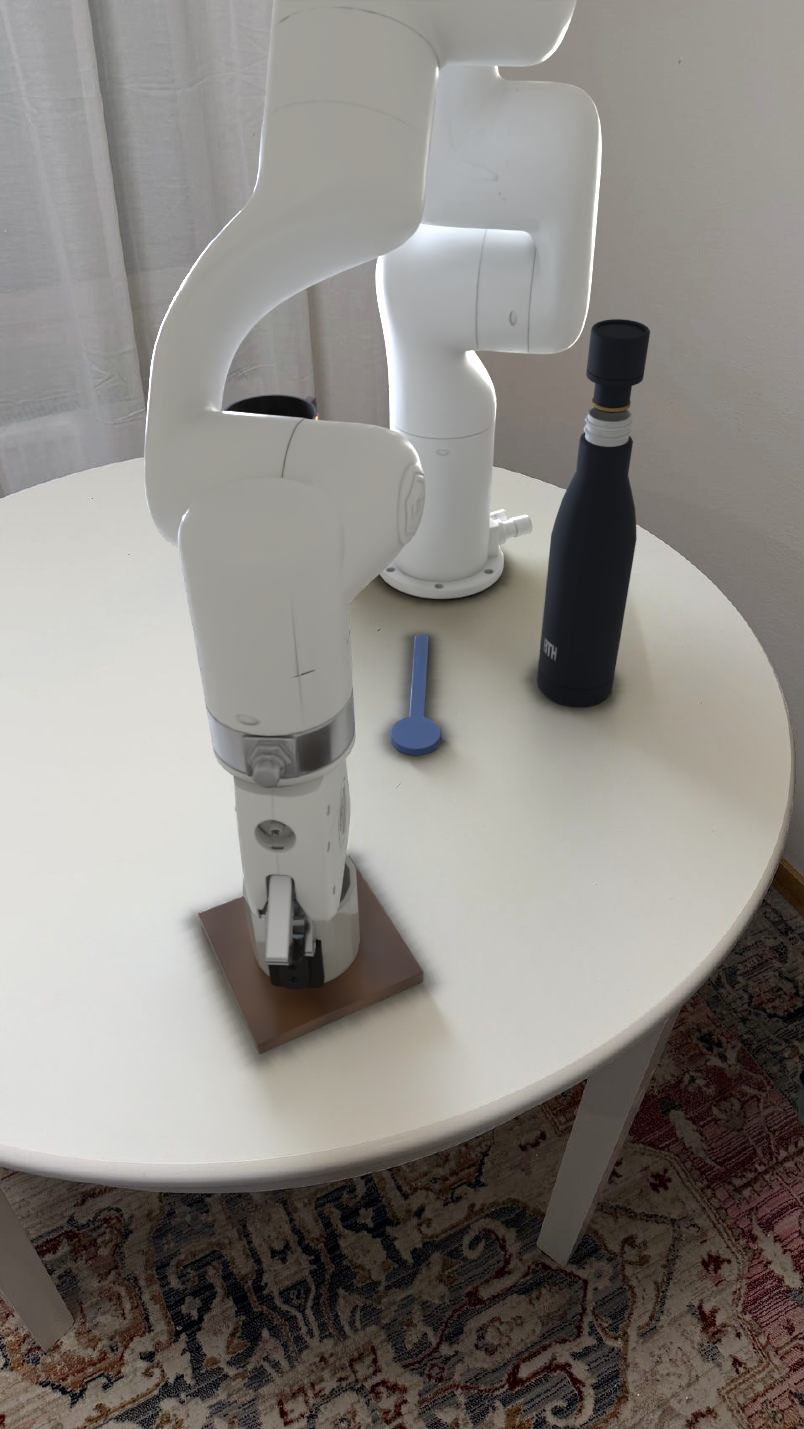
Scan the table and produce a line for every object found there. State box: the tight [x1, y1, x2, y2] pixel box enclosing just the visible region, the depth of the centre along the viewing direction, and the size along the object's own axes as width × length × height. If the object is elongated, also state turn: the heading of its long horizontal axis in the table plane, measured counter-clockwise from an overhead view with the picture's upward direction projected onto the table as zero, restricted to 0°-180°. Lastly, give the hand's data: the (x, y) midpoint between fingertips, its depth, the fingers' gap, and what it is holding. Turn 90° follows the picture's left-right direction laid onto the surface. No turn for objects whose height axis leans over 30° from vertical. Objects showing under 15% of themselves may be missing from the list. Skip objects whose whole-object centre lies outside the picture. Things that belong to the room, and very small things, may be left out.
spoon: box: [390, 634, 442, 756], centre depth 85 cm, size 16×4×1 cm, turn 177°
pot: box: [242, 853, 360, 983], centre depth 62 cm, size 7×7×6 cm
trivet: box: [197, 854, 424, 1055], centre depth 65 cm, size 11×11×1 cm
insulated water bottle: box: [536, 318, 651, 708], centre depth 76 cm, size 6×6×30 cm
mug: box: [222, 393, 319, 420], centre depth 105 cm, size 10×14×12 cm
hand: (306, 930), depth 63 cm, fingers closed on pot, 7 cm apart
